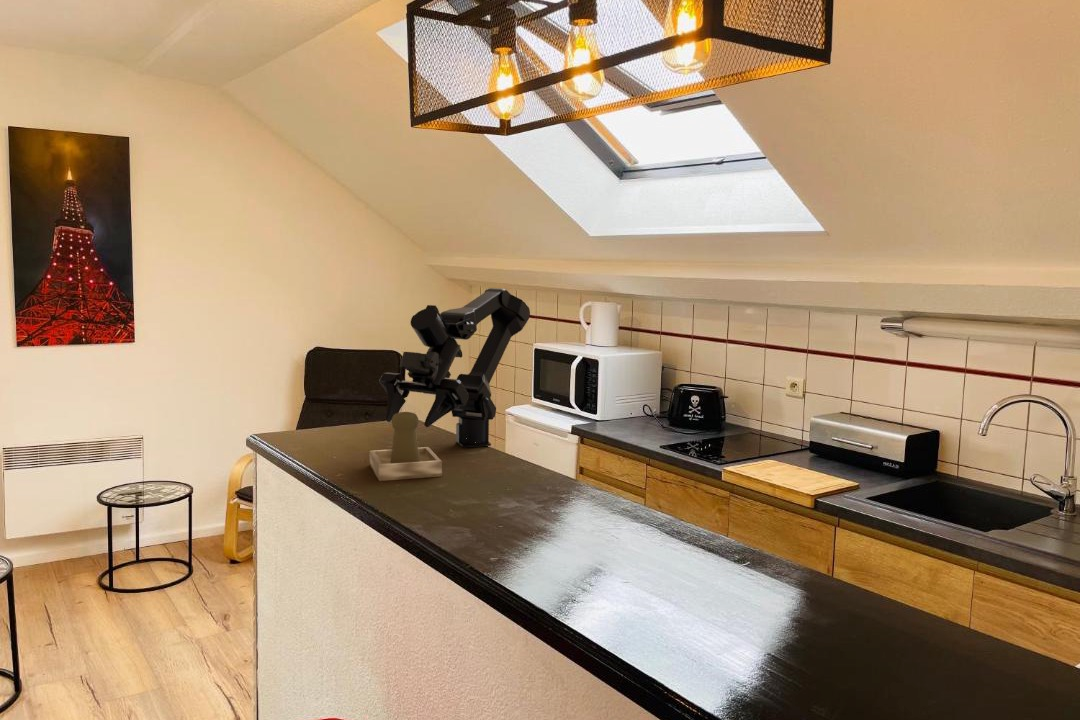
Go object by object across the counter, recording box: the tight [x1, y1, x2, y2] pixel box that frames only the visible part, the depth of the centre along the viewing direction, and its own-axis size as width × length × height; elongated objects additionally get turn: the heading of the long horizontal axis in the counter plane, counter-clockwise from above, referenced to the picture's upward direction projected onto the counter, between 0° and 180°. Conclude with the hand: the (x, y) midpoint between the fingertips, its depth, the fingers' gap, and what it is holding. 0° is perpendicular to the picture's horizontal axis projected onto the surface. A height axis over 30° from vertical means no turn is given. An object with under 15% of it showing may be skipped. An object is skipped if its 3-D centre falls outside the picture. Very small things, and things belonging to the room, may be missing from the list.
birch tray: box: [369, 446, 443, 482], centre depth 166 cm, size 12×12×3 cm
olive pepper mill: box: [390, 411, 420, 464], centre depth 165 cm, size 6×6×11 cm
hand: (406, 423), depth 165 cm, fingers open, 9 cm apart
